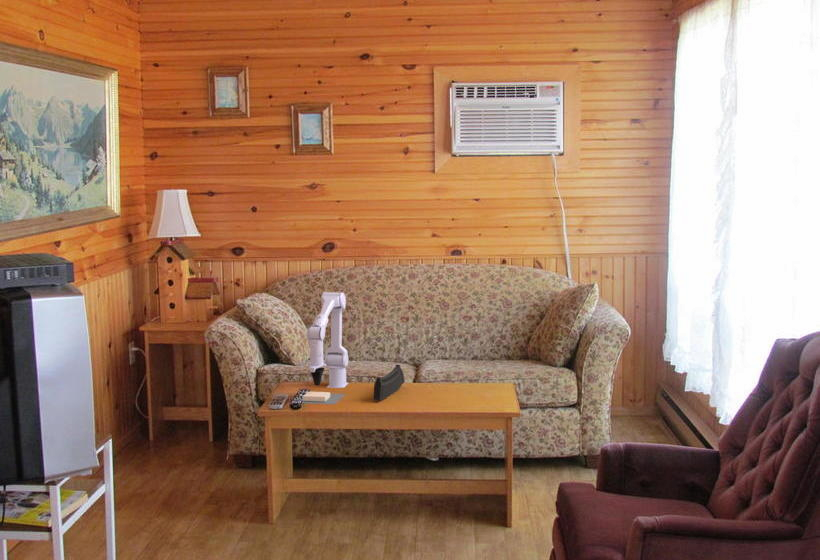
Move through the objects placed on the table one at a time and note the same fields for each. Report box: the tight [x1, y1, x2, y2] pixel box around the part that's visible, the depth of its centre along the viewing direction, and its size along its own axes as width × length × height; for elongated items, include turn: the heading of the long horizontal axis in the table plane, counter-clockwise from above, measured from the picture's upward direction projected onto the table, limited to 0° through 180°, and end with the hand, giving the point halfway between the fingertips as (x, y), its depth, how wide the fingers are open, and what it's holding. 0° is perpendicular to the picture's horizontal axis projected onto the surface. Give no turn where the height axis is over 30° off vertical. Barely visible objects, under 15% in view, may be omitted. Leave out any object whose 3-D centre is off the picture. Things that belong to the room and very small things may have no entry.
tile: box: [303, 391, 331, 402], centre depth 396 cm, size 2×10×8 cm
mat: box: [289, 393, 346, 406], centre depth 399 cm, size 18×20×1 cm
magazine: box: [372, 364, 405, 401], centre depth 404 cm, size 17×3×30 cm
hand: (317, 385), depth 398 cm, fingers closed
